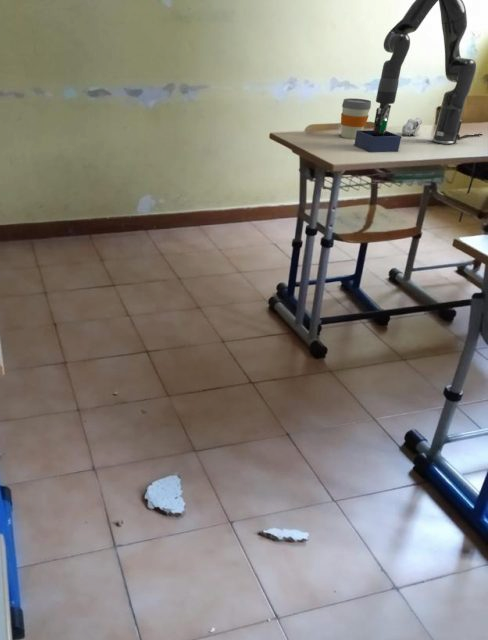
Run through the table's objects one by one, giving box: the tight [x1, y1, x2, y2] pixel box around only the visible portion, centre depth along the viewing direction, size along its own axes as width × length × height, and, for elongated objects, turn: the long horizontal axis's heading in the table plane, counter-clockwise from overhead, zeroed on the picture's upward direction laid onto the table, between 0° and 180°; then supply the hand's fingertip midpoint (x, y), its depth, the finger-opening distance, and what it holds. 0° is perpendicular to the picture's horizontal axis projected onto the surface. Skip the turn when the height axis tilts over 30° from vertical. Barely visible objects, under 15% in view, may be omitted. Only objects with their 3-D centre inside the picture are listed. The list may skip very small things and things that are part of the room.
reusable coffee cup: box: [340, 98, 372, 140], centre depth 273 cm, size 13×13×15 cm
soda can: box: [372, 116, 389, 137], centre depth 254 cm, size 5×5×12 cm
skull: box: [401, 117, 423, 137], centre depth 284 cm, size 8×9×12 cm
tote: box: [353, 129, 402, 153], centre depth 256 cm, size 13×13×6 cm
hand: (378, 133), depth 255 cm, fingers open, 7 cm apart
